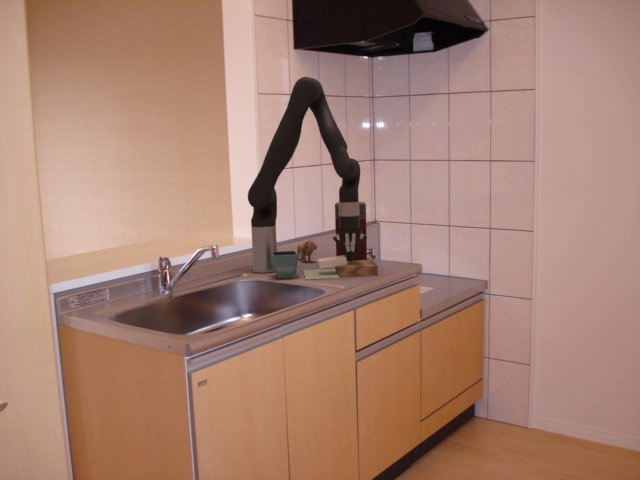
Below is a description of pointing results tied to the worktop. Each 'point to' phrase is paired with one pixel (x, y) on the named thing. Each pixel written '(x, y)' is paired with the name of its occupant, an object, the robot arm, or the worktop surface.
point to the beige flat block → (332, 261)
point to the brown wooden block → (357, 269)
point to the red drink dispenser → (362, 251)
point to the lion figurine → (306, 250)
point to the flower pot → (285, 263)
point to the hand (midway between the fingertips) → (350, 261)
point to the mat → (320, 274)
